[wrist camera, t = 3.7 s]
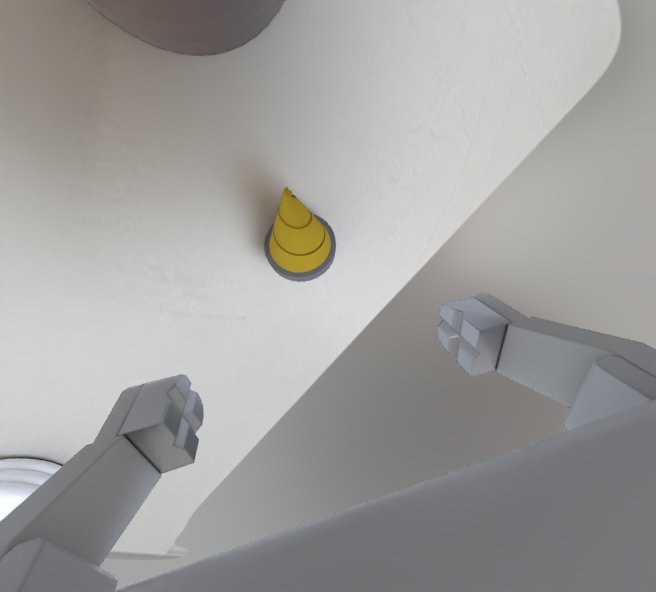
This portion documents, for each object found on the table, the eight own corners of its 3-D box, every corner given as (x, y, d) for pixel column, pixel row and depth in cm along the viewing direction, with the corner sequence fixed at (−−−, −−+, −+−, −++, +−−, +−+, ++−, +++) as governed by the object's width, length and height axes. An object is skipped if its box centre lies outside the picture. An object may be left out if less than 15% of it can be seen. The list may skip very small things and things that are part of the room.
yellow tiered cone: (262, 269, 23) (213, 198, 14) (300, 225, 24) (278, 131, 15) (310, 304, 22) (293, 254, 13) (347, 257, 23) (357, 178, 14)
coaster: (103, 481, 31) (87, 517, 28) (29, 517, 31) (5, 556, 28) (19, 442, 26) (-13, 481, 23) (-70, 485, 26) (-113, 529, 23)
